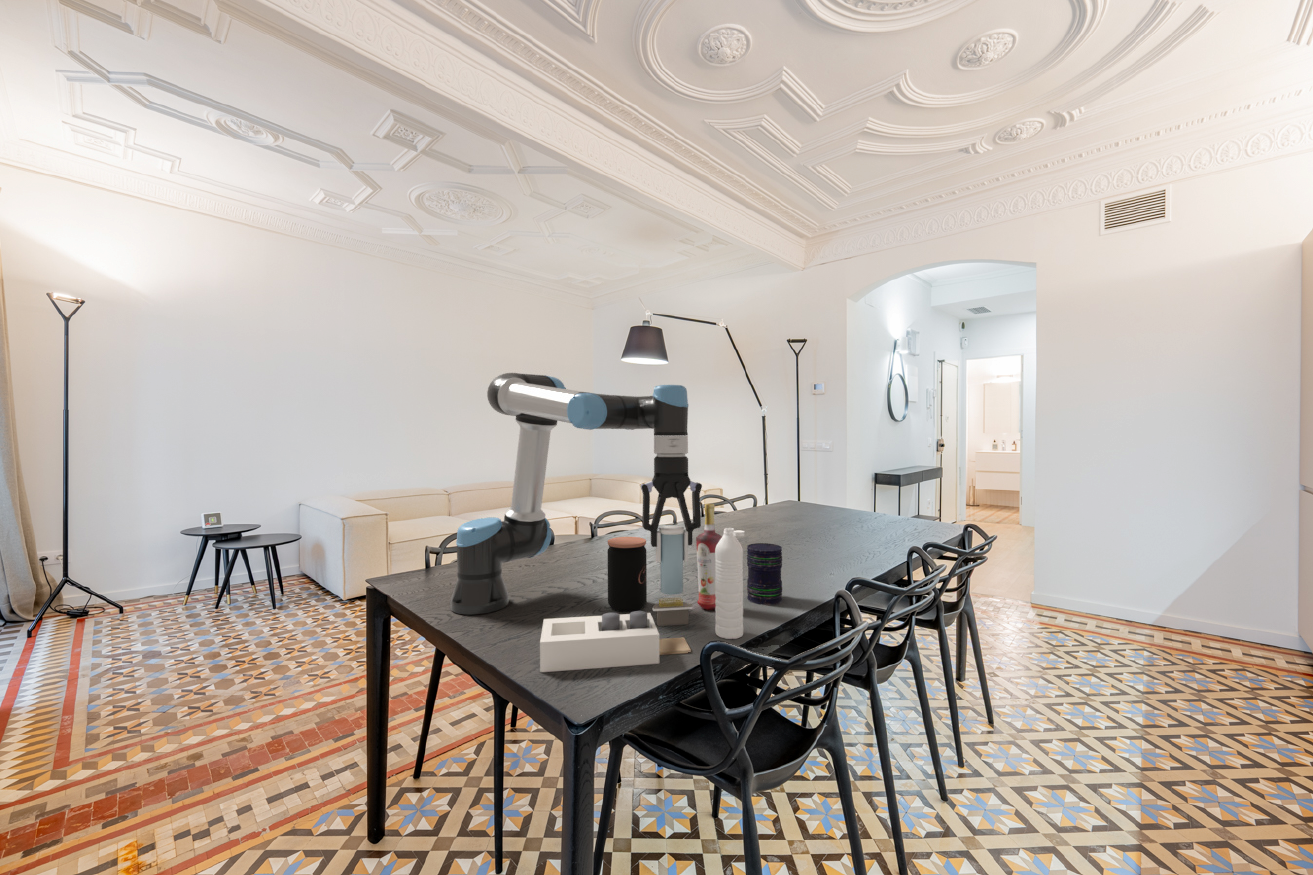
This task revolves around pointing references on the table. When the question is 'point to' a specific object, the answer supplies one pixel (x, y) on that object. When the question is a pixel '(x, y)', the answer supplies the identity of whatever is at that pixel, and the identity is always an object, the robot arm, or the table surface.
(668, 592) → the cartridge
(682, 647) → the coaster
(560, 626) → the housing
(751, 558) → the storage jar
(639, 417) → the robot arm
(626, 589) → the coffee jar
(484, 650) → the table surface
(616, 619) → the button
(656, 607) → the platform
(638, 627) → the button
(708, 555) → the liquor
